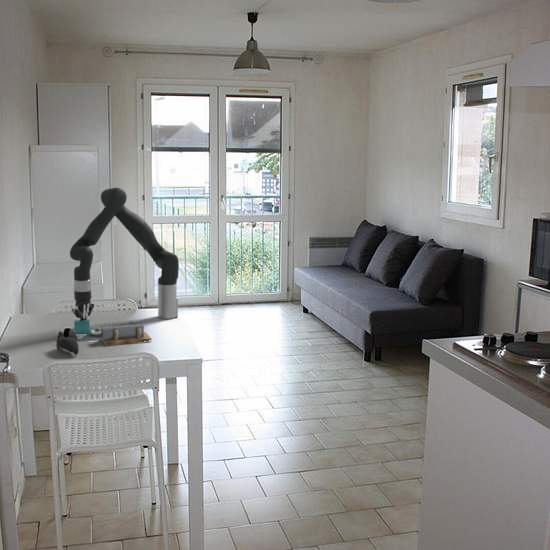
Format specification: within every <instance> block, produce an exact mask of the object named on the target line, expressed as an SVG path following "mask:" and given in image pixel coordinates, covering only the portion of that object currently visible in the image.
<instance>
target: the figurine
mask: <svg viewBox="0 0 550 550" xmlns="http://www.w3.org/2000/svg"><path fill="white" fill-rule="evenodd" d="M55 341H56V350H60V349H61V350H62V351H65V352H67V353H72V354H73V355H74V356H75V358H76V357H77V356H78V354H79V350H80V349H79V348H80V346H79V344H78V340H77V338H73V337H65V335H64V334H63V332H62V331H61V330H59V332H58V335H57V338H56V340H55Z"/></svg>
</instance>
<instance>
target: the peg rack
mask: <svg viewBox="0 0 550 550" xmlns="http://www.w3.org/2000/svg"><path fill="white" fill-rule="evenodd" d="M100 340H101V341H102V343H103V344H104V346H105V347H106V346H107V347H108V346H118V345H119V346H120V345H130V344H138V343H139V342H144V341H149V340H151V341H152V338H151V336H150V335H149V334H148V333H147V332H146V331H144V337H141V329H137V338H125V339H118V331H117V330H115V331H114V340H108V341H103V340H102V338H101V339H100ZM144 343H145V342H144ZM139 344H140V343H139Z"/></svg>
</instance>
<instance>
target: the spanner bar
mask: <svg viewBox="0 0 550 550" xmlns="http://www.w3.org/2000/svg"><path fill="white" fill-rule="evenodd" d="M100 328H101V338H102V340H103V341H108V340H114V331H115V330H117V331H118V339H125V338H137V329H141V337H144V332H145V327H144V325H143V324H142V323H135V324H126V325H125V324H123V325H111V326H110V325H109V326H108V325H106V326H105V325H104V326H100ZM102 340H101V341H102ZM103 341H102V342H103Z"/></svg>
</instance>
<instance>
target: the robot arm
mask: <svg viewBox="0 0 550 550" xmlns="http://www.w3.org/2000/svg"><path fill="white" fill-rule="evenodd" d="M127 200H128V199H127V193H126V191H125V190H124V189H123V188H121V187H113V188H107V189H104V190H103V191H102V192H101V194H100V201H101V204H102V205H103V206H104V208H103V209H102V210H101V211H100V212H99V214H97V216H96V217H94V219H93V220H92V221H91V222H90V223H89V225H88V226H87V228H86V230H85V231H84V233H83V235H82V236H81V237H80V238H78V239H77V241H76V242H75V243H74V244H73V245H72V246H71V247H70V251H69V256H70V259H72V260H74V261H76V262H79V265H78V266H75V267H74V269H73V278H74V280H73V294H74V295H73V297H74V301H75V307H74V308H71V312H72V314H74V315H75V317H76V318H78V319H79V320H88V317H90V316H91V314H92V311H93V309H94V307H95V304H94V303H92V302H91V300H92V283H91V267H92V263H93V259H94V253H93V250H92V248H91V247H94V246H95V245H96V244H97V243H98V241H100V239H101V237H102V235H103V234H104V232H105V230H106V229H107V227H108V226H109V224H110V223H111V221H112V220H113V218H114V217H116V219H117V220H118V221H119V222H120V223H121V225H123V226H124V228H125V229H126V230H127V231H128V232H129V234H131V236H132V237H133V238H134V240H135V241H136V242H137V243H138V244H140V246H141V247H142V249H144V250H145V251H146V252H147V254H149V256H150V257H151V260H153V262H154V263H155V265H156V266H157V267H158V268H159V269H161V274H160V277H158V279H157V304H158V305H157V309H158V310H157V315H158V318H159V319H163V320H170V319H171V318H173V319H176V318H175V317H179V304H178V303H179V299H178V298H177V297H178V295H177V293H178V292H177V291H178V289H177V288H178V286H177V285H178V284H177V281H178V278H179V265H180V264H179V258H178V255H177V254H175V253H174V252H170V251H168V250H166V249H165V248H164V247H163V246H162V245H161V243H159V241H158V239H157V237H156V235H155V233H154V231H153V229H152V227H151V226H150V225H149V224H148V222H147V221H146V220H145V219H144V218H142V217H141V216H140V215H138V214H137V213H135V212H134V211H132V210H130V209H129V208H128V207H127V206H126V205H125V204H126V202H127ZM171 320H172V319H171Z"/></svg>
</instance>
